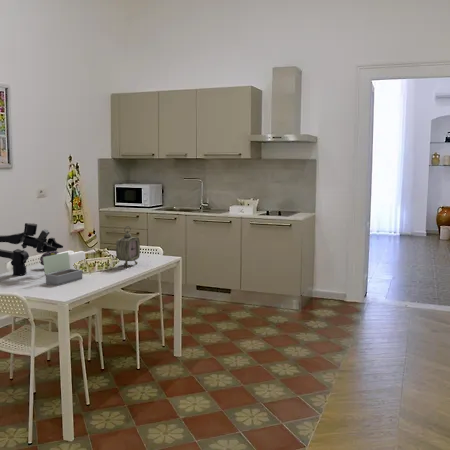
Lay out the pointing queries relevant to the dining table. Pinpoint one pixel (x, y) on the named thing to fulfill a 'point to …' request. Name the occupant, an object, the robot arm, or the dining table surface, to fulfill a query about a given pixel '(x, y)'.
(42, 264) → the decorative flower
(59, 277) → the grey open box
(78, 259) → the cable organizer
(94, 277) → the dining table surface
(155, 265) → the dining table surface
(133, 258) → the tabletop clock
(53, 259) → the cover
